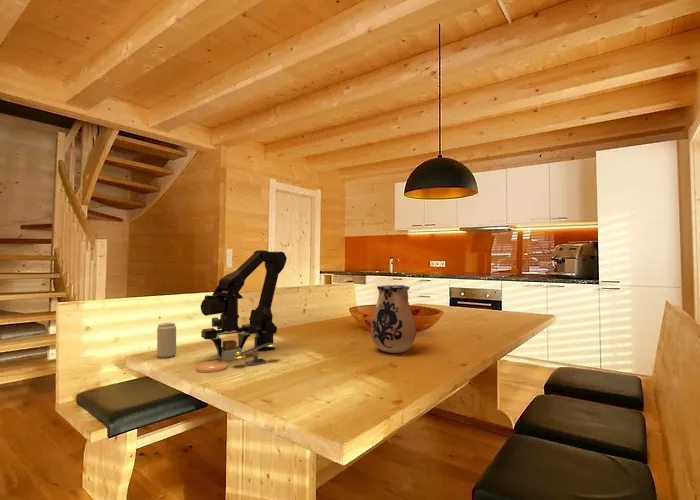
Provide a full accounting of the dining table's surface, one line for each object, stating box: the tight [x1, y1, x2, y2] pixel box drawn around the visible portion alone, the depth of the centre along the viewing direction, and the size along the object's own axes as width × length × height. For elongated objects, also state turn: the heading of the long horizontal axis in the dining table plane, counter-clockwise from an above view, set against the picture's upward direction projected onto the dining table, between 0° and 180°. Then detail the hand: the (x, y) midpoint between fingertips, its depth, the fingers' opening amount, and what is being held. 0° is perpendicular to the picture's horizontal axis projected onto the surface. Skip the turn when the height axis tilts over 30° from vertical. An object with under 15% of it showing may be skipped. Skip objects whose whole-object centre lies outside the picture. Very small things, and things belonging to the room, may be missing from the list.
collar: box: [217, 345, 243, 362], centre depth 146 cm, size 7×7×4 cm
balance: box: [233, 342, 279, 367], centre depth 139 cm, size 16×4×6 cm, turn 125°
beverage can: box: [156, 322, 177, 359], centre depth 148 cm, size 6×6×12 cm
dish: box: [195, 359, 229, 374], centre depth 133 cm, size 10×10×1 cm
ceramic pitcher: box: [370, 284, 417, 354], centre depth 158 cm, size 18×21×25 cm
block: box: [221, 339, 238, 351], centre depth 146 cm, size 4×4×6 cm
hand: (229, 355), depth 146 cm, fingers closed on collar, 7 cm apart
